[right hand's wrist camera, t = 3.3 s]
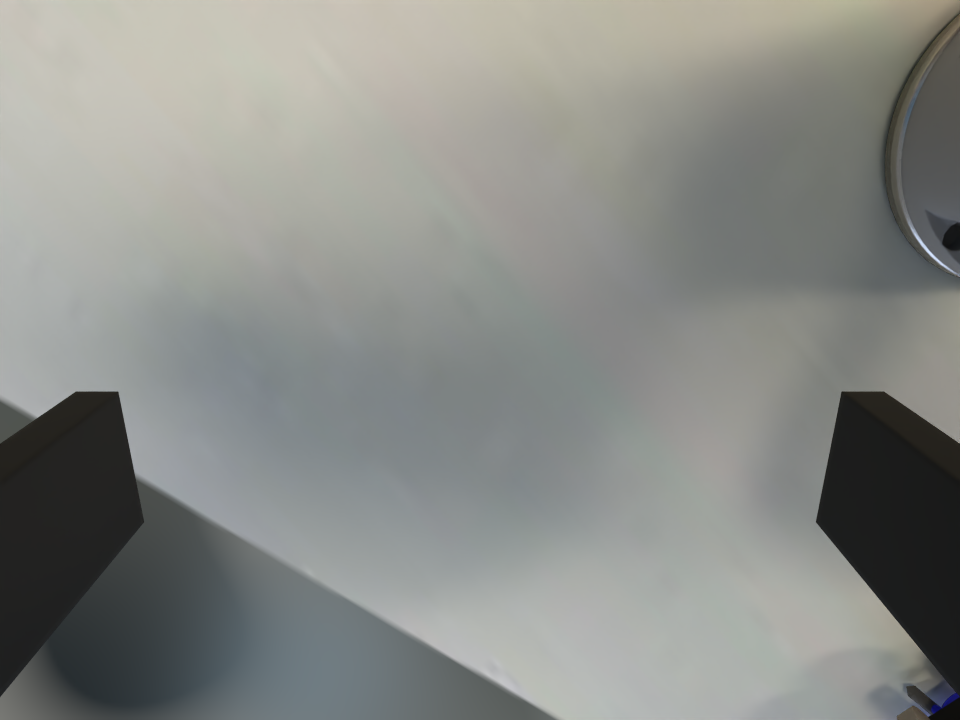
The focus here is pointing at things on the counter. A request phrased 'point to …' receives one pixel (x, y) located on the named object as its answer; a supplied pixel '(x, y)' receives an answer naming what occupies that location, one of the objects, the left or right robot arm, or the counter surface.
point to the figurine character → (931, 707)
